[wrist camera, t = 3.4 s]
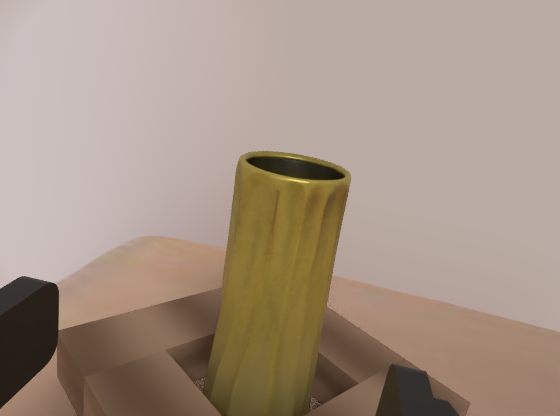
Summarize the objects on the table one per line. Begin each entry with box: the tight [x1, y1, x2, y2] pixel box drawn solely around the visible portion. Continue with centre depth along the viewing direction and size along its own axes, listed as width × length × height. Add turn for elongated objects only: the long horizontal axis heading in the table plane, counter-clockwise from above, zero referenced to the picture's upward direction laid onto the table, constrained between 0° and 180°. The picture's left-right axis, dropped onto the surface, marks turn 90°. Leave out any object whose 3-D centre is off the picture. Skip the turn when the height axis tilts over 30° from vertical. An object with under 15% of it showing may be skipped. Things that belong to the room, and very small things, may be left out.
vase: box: [203, 151, 351, 416], centre depth 23 cm, size 6×6×14 cm
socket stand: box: [57, 288, 470, 416], centre depth 24 cm, size 16×16×3 cm
